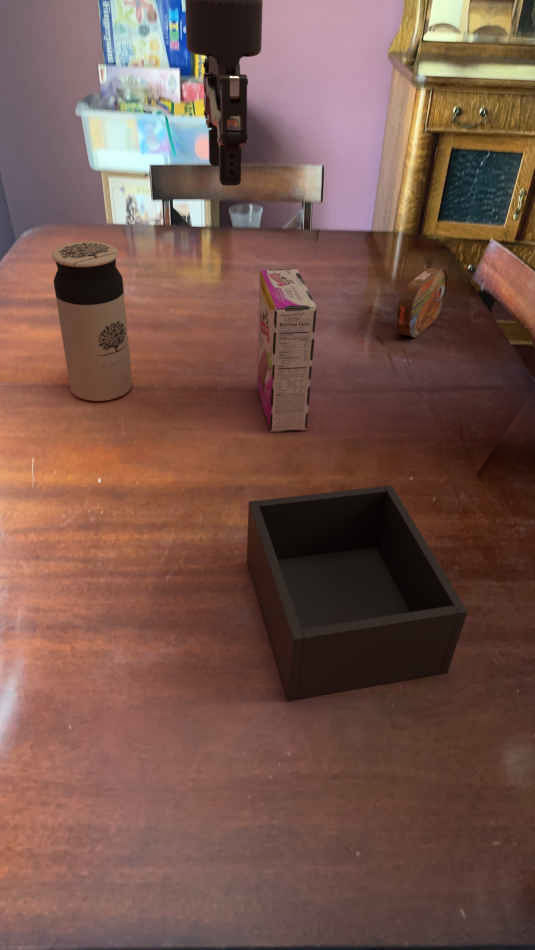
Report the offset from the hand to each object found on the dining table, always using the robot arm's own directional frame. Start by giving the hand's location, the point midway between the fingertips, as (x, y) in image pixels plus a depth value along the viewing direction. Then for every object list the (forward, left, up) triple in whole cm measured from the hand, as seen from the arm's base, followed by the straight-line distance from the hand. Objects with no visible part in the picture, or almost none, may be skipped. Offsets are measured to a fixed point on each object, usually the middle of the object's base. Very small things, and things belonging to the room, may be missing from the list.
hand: (224, 174), depth 75 cm
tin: (-34, -13, -27) cm, 45 cm away
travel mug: (+16, -1, -27) cm, 31 cm away
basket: (-3, +42, -27) cm, 49 cm away
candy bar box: (-6, +8, -27) cm, 28 cm away
